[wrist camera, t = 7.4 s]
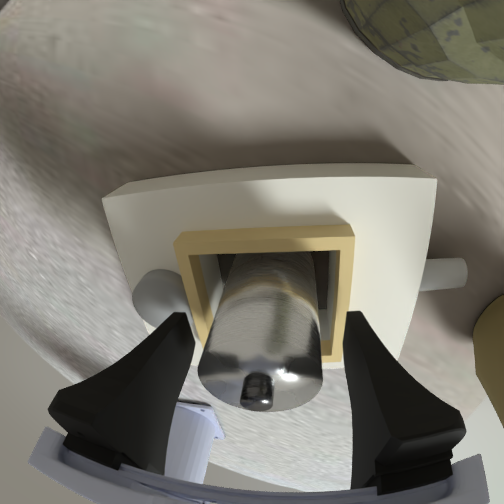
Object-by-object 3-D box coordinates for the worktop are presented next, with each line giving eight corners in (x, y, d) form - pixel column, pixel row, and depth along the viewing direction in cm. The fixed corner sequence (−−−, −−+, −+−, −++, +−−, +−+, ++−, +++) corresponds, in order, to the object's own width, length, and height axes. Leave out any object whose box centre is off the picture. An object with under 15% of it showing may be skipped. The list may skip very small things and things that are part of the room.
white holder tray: (174, 335, 21) (156, 375, 18) (127, 182, 15) (88, 207, 12) (430, 329, 18) (446, 369, 15) (466, 168, 12) (506, 191, 9)
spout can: (240, 303, 19) (209, 427, 11) (226, 236, 16) (172, 360, 9) (315, 299, 18) (320, 429, 10) (312, 230, 16) (326, 361, 8)
